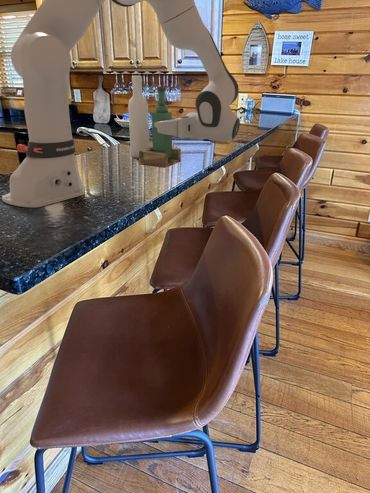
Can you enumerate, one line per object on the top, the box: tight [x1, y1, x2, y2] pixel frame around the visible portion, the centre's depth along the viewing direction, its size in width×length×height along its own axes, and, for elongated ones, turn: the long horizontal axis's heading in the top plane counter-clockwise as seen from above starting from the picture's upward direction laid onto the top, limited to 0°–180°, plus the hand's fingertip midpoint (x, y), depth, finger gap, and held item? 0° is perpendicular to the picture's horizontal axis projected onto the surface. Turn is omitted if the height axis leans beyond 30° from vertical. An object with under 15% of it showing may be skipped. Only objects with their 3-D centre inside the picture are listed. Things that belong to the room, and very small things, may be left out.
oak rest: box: [138, 146, 182, 169], centre depth 136 cm, size 12×11×5 cm
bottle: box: [127, 75, 150, 159], centre depth 142 cm, size 8×8×30 cm
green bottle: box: [151, 86, 173, 158], centre depth 130 cm, size 5×5×24 cm
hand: (159, 123), depth 131 cm, fingers closed on green bottle, 5 cm apart
